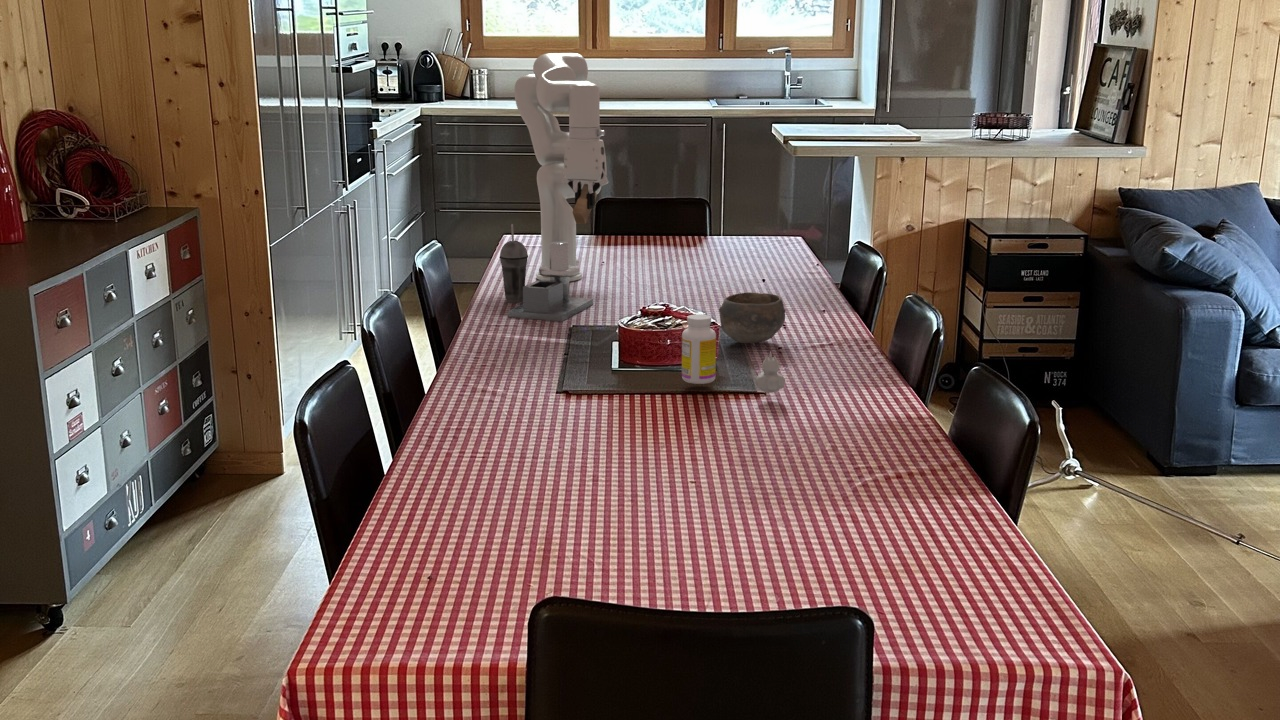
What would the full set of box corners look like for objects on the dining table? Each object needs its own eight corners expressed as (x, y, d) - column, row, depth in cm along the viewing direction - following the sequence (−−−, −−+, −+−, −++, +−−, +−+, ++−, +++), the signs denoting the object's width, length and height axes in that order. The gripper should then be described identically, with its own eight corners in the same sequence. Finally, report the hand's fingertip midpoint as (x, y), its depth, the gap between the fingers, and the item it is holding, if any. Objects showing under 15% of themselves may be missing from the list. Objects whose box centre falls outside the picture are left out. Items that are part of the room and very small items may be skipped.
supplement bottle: (719, 377, 242) (720, 314, 238) (710, 386, 236) (711, 321, 232) (687, 374, 244) (688, 311, 241) (677, 383, 238) (678, 319, 235)
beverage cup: (531, 298, 313) (530, 221, 307) (526, 304, 306) (524, 225, 300) (503, 298, 313) (501, 221, 308) (497, 304, 306) (495, 225, 301)
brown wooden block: (576, 223, 305) (587, 195, 310) (585, 224, 304) (596, 195, 310) (572, 212, 302) (584, 183, 307) (581, 212, 301) (593, 184, 307)
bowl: (792, 337, 274) (793, 293, 271) (770, 353, 261) (771, 307, 258) (734, 331, 280) (735, 288, 277) (709, 345, 266) (710, 301, 264)
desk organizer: (542, 300, 311) (541, 238, 307) (593, 304, 306) (592, 241, 302) (508, 316, 293) (506, 251, 288) (562, 321, 288) (561, 254, 284)
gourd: (780, 387, 235) (782, 347, 233) (787, 397, 229) (789, 356, 227) (753, 388, 235) (754, 348, 233) (759, 398, 228) (760, 356, 226)
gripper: (619, 134, 302) (619, 208, 307) (560, 132, 307) (561, 204, 312) (609, 136, 295) (609, 212, 300) (548, 134, 300) (549, 208, 305)
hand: (584, 207), depth 306 cm, fingers closed on brown wooden block, 2 cm apart
